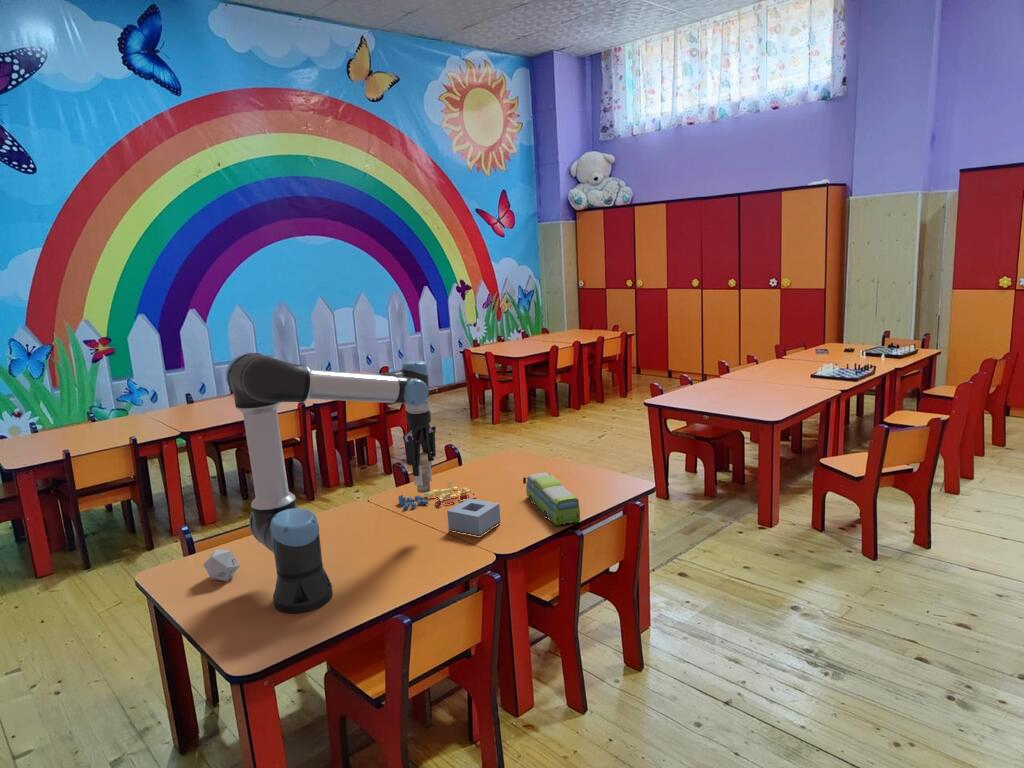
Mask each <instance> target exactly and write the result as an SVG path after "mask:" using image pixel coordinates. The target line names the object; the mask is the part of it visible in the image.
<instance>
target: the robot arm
mask: <svg viewBox="0 0 1024 768" xmlns="http://www.w3.org/2000/svg"><path fill="white" fill-rule="evenodd" d="M428 370H429V369H428V365H427V363H426V361H424V360H408V361H406V362H405V361H404V362H403V363H402V367H401V369H400V370H395V371H390V372H389V371H388V372H383V373H380V372H379V373H375V374H370V373H369V374H368V373H367V374H366V373H356V372H355V373H354V372H346V371H345V372H344V371H332V370H319V369H310V368H309V367H308V366H307V365H306V364H297V363H291V362H289V361H288V362H287V361H284V360H281V359H279V358H276V357H271V356H266V355H265V354H264V355H263V354H262V353H259V352H247V353H246V352H245V353H242V354H239V355H237V356H236V357H234V358H233V359H232V360H231V361H230V363H229V364H228V366H227V369H226V373H225V379H226V383H227V385H228V387H229V388H230V390H231V391H232V393H233V398H234V405H235V409H237V410H238V411H240V412H241V413H242V416H243V423H244V428H245V435H246V436H245V437H246V443H247V448H248V455H249V462H250V469H251V475H252V481H253V488H254V494H255V495H254V496H255V498H254V499H253V500H252V502H251V504H250V508H251V513H250V515H249V521H248V525H249V529H250V532H251V533H252V536H253V537H254V539H255V540H257V541H258V542H259V543H260V544H262V545H264V547H266V548H267V549H268V550H269V551H270V552H272V553H273V555H274V561H275V569H276V580H275V581H276V582H275V587H274V592H273V595H272V600H273V607H274V608H275V610H277V611H279V612H281V613H285V614H300V613H306V612H310V611H313V610H316V609H318V608H320V607H322V606H324V605H325V604H327V603H329V601H330V600H331V599H332V598H333V595H334V594H333V593H334V592H333V585H332V582H331V580H330V578H329V576H328V574H327V572H326V570H325V569H324V563H323V557H322V547H321V538H320V525H319V523H318V518H317V516H316V514H315V513H314V512H312V511H311V510H309V509H306V508H298V507H297V506H298V505H297V499H296V495H295V494H294V493H292V492H291V491H290V490H289V485H288V478H287V471H286V465H285V457H284V449H283V443H282V437H281V429H280V421H279V414H278V407H279V405H280V404H281V403H305V402H306V401H307V400H326V401H343V402H344V401H348V402H365V403H368V402H369V403H384V404H385V403H387V404H401V405H403V404H404V405H405V411H406V413H405V416H406V424H407V425H408V433H407V434H403V436H402V439H403V442H404V446H405V447H404V449H405V457H406V464H407V466H410V467H412V468H411V469H412V476H413V482H414V486H417V485H418V486H422V485H423V482H422V468H421V465H419V462H420V453H421V451H422V452H425V453H428V465H429V480H430V483H431V482H433V475H432V474H433V473H432V467H433V465H432V462H434V461H435V458H436V455H437V454H436V453H437V452H436V450H437V449H436V429H437V427H436V426H434V425H430V423H431V421H432V416H431V415H432V414H431V411H430V409H431V404H430V402H431V401H430V385H429V384H430V383H429V371H428ZM415 461H416V462H415Z"/></svg>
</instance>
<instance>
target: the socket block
mask: <svg viewBox="0 0 1024 768" xmlns="http://www.w3.org/2000/svg"><path fill="white" fill-rule="evenodd" d="M500 508H501V507H500V503H499V502H492V501H487V500H482V499H477V498H475V499H471V498H468V499H467V500H465V501H463V502H459V503H458V504H455V506H453V507H451V508H450V509H447V511H446V514H447V526H448V531H449V530H451V531H456V532H460V533H466V534H471V535H476V536H481V535H482V534H484V533H485V532H487V531H488V530H490V529H491V528H492V527H494V526H496V525H497V524H499V523H501V510H500Z"/></svg>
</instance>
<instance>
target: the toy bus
mask: <svg viewBox="0 0 1024 768" xmlns="http://www.w3.org/2000/svg"><path fill="white" fill-rule="evenodd" d="M522 484H526V487H525V491H526V496H527V498H528V499H529V500H530V502H531V501H532V502H533V504H534V503H535V504H536V505H537V506H536V505H535V506H536V507H537V508H538V509H539V510H540V512H542V513H543V516H544V518H545V517H547V518H549V519H550V520H551V521H552V522H553V523H554V524H553V523H552V522H551V521H550V520H549V521H550V522H551V523H552V524H553V525H554V526H555V525H558V526H561V525H560V524H563V525H566V524H565V523H569V524H573V522H574V523H580V522H581V511H580V508H581V507H580V502H579V499H578V498H577V497H576V496H575V495H574V494H572V493H571V492H570V491H569V490H568V489H567V488H565V487H564V485H563V483H562V482H561V481H560V480H559V479H558V478H556V476H554V475H551V473H549V472H537V473H534V474H530V475H528V476H524V477H522Z"/></svg>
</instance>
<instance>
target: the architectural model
mask: <svg viewBox="0 0 1024 768" xmlns="http://www.w3.org/2000/svg"><path fill="white" fill-rule="evenodd" d="M446 485H447V488H442V489H441V488H437V489H436V488H434V489H430V491H429V492H426V493H423V494H424V497H425V496H426V497H427V498H433V495H434V496H435V497H437V496H439V497H438V498H439V499H440V500H444V499H447V498H450V497H451V498H452V497H455V496H459V495H461V494H459V493H461V492H463V491H465V493H469V492H472V491H471V489H469V488H467V487H463V486H462V488H460V489H461V491H459V490H458V491H456V493H454V494H450V493H451V490H452V491H453V488H454V489H457V488H458V489H459V487H457V486H452V480H450V479H448V478H447V479H446ZM457 492H458V494H457ZM465 493H464V494H462V495H461V496H460V499H461V500H463V499H467V498H470V497H469V495H467V494H465ZM456 494H457V495H456ZM472 494H473V495H475V493H472ZM440 495H441V496H440ZM467 496H468V497H467ZM424 497H423V496H421V495H420V494H418V495H415V496H414V498H412V496H409V497H406V496H404V494H402V495H401V494H400V495H398V504H399V505H400V504H401V505H402V506H401V505H400V506H401V507H402V511H403V510H405V511H409V510H408V509H409V508H411V509H412V508H416V509H417V505H420V504H428V505H429V500H428V499H427V498H426V499H424ZM415 499H418V500H416V501H417V503H416V501H415ZM439 499H438V500H435V502H434V504H437V505H438V506H440V505H442V506H443V504H450V503H454V502H455V503H456V500H455V501H454V499H450V500H446V501H443V502H444V503H443V504H441V501H440V500H439ZM407 501H408V502H407ZM412 502H413V503H412ZM414 502H415V503H414ZM410 503H411V504H410ZM437 505H436V506H437ZM420 506H421V505H420ZM438 506H437V507H438ZM408 507H409V508H408ZM406 509H407V510H406Z"/></svg>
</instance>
